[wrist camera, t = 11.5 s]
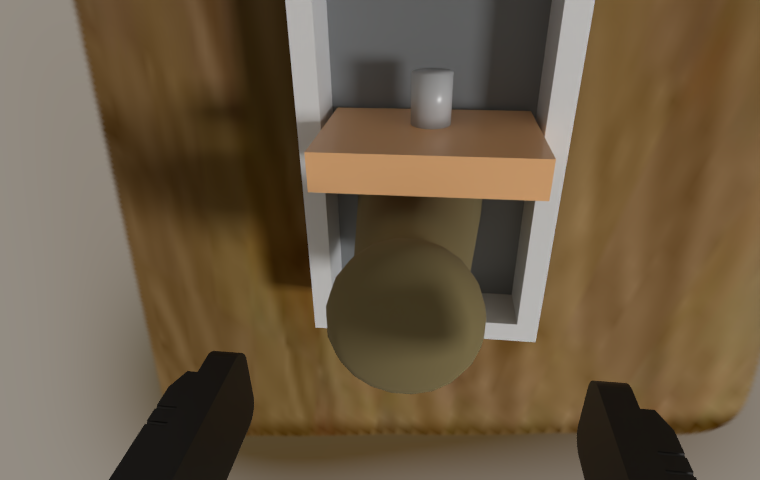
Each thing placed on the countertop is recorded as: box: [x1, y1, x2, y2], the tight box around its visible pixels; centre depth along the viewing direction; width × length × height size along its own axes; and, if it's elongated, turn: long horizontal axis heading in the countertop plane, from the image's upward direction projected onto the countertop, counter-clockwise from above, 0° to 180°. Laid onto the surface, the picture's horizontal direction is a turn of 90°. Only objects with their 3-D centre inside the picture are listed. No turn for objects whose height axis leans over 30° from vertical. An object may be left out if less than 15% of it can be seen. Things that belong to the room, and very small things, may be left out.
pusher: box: [304, 68, 556, 201], centre depth 20 cm, size 4×8×6 cm, turn 91°
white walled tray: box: [285, 0, 595, 342], centre depth 22 cm, size 18×12×5 cm, turn 1°
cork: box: [326, 194, 486, 394], centre depth 20 cm, size 6×6×11 cm
